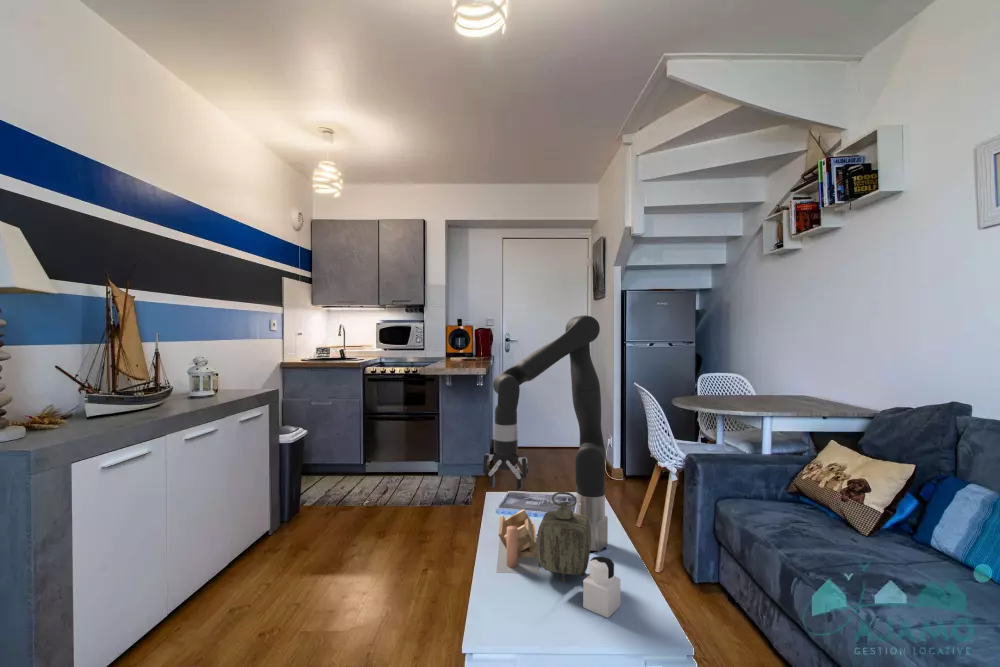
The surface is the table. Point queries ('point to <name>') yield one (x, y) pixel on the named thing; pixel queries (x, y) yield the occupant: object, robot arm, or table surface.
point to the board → (522, 562)
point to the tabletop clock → (564, 540)
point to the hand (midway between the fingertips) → (505, 488)
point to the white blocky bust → (601, 587)
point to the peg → (512, 546)
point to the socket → (520, 533)
